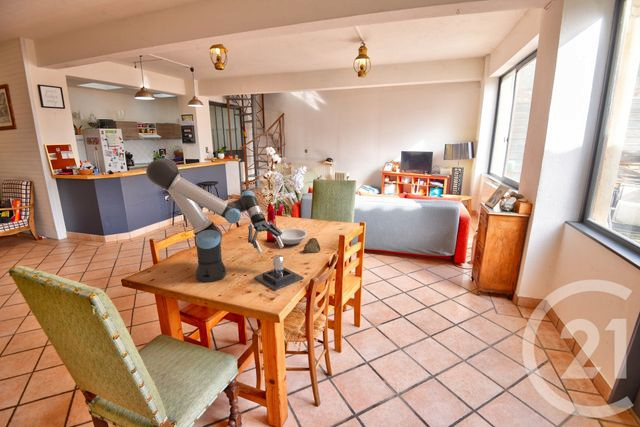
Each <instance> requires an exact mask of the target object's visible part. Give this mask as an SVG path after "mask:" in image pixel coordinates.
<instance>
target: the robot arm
mask: <svg viewBox="0 0 640 427" xmlns="http://www.w3.org/2000/svg"><path fill="white" fill-rule="evenodd" d="M145 173H146V177H147V179H148V180H149V181H150V182H151V183H153V184H154V185H156V186H158V187H160V188H161V190H163V191H167V193H169V195H170V197H171V198H172V200H173V201H174V202H175V204H176V206H177V207H178V208H179V209H180V211H181V212H182V214H183V215H184V216H185V218H186V219H187V221H188V222H189V224H190V225H191V227H192V228H193V232H192V233H193V234H194V235H195V244H196V253H197V266H196V270H195V279H196V280H197V281H198V282H202V283H212V282H216V281H219V280H222V279H223V278H225V277H226V276H227V268H226V266H225V264H224V262H223V258H222V257H223V256H222V239H223V233H222V230H221V229H220V227H218V226H217V225H216V224H215V223H214V221H213V220H211V219H208V217H207V216H206V215H205V213H204V211H203V210H202V209H201V207H203V208H205V209H207V210H209V211H211V212H212V213H214V214H216V215H218V216H220V217H221V218H224V219H225V221H227V222H228V223H229V224H231V225H232V224H237V223H239V221H241V218H242V213H244V212H246V213H247V214H248V218H249V219H250V220H249V221H250V223H251V224H249V225H248V227H247V230H248V237H247V243H248V244H251V245H253V248H254V249H255V250H256V251H257V253H258V255H260V254H262V252H263V251H262V248H261V247H260V244H259V242H258V240H257V237H258V235H259V233H261V232H268V233H269V234H271V235H272V234H273V235H274V236H276V237H277V238H275V240H276V242H277V243H278V246H279V249H282V248H283V247H284V246H285V244H283V243H282V238H281V235H282V232H281V231H280V230H281V229H279V228H278V227H277V226H276V225H275V224H274V223H273V221H272V220H269V221H268V222H267V221H266V220H267V219H266V217H265V215H264V213H263V211H262V208H261V206H260V204H259V202H258V199H257V197H256V196H255V194H254V192H253V191H252V190H249V189H248V190H245V191H242V192H241V194H240V195H239V196H240V198H238V199H236V200H233V201H231V202H227V201H225V200H223V199H221V198H219V196H216V195H215V194H212V193H210V191H209V192H208V191H207V190H206V189H204V188H202V187H200V186H198V185H196V184H195V183H193V182H190V181H189V180H187V178H186V179H185V178H184V177H183V175H182V174H181V172H180V171H179V166H178V165H177V163H176V162H175V161H174V160H172V159H169V158H165V157H163V158H159V159H158V158H157V159H156V160H153V161H150V163H148V165H147V166H146V170H145ZM200 206H201V207H200ZM253 230H255V231H253ZM253 232H254V234H253ZM273 235H272V236H273Z"/></svg>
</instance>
